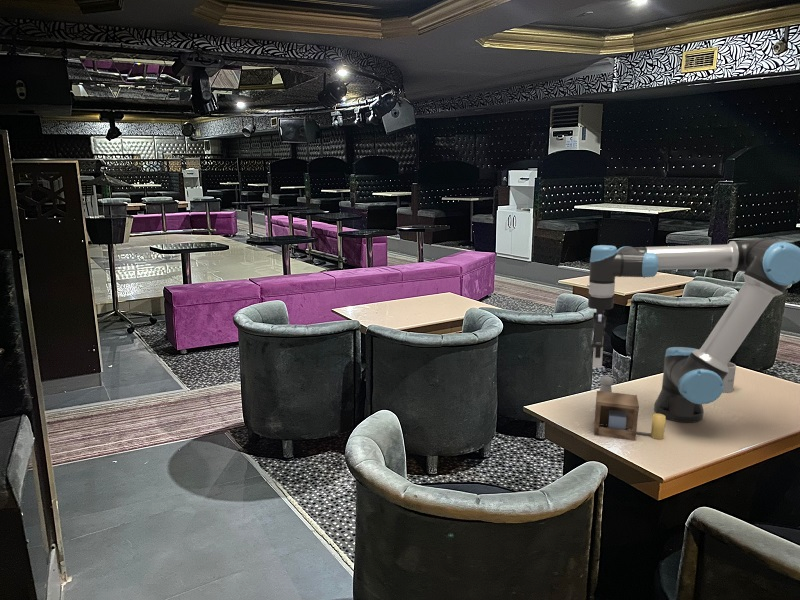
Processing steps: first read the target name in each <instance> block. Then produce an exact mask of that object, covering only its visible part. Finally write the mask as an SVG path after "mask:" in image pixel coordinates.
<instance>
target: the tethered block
mask: <svg viewBox="0 0 800 600" xmlns="http://www.w3.org/2000/svg"><path fill="white" fill-rule="evenodd" d="M666 420H667V419H666V416H665V415H663V414H659V413H655V412H654V413H652V422H651V432H642V431H636V436H642V437H643V436H644V437H649V438H652V439H655V440H663V439H664V437H665V426H666ZM607 428H614V429H622V430H626V429H627V428H626V412H624V411H615V410H609V416H608V426H607Z"/></svg>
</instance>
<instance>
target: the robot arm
mask: <svg viewBox="0 0 800 600" xmlns="http://www.w3.org/2000/svg"><path fill="white" fill-rule="evenodd" d="M590 251H591V252H590V258H589V283H588V284H586V287H587V288H588V294H589V295H588V299H587V307H588V308H590V309H591V310H592V309H593V310H596V312H593V316H592V320H593V328H594V338H593V340H594V341H593V344H591V348H593V351H592V352H593V354H592V368H597V369H599V368H600V369H602V368H603V353H604V336H606V335H607V334H606V331H605V328H606V321H607V315H608V313H607V312H605V311H606V310H608V311H609V310H612V309H613V308H614V302H615V301H614V295H615V288H616V285H615V284H616V280H615V279H616V278H617V277H618V278H624V277H625V278H643V279H645V278H654V277H655V276H657V274H658V271H662V270H663V271H664V270H698V269H699V270H703V269H704V270H706V269H707V270H708V269H709V270H710V269H715V270H716V269H717V270H719V269H727V270H728V271H730V272H740V273H741V272H742V273H743V279H744V282H743V284H742V286H741V287H740V289H739V290H738V292H737V293H736V295H735V296H734V298H733V299H732V301H730V304H729V305H728V306H727V308H726V310H725V311H724V312H723V315H722V316H721V317H720V319H719V320H718V321H717V323H716V324H715V326H714V327H713V329H712V331H710V334H708V337H707V338H706V339H705V340H704V341H705V342H703V343H702V346H701V347H700V348H699V349H698V348H693V347H685V346H672V347H668V348H666V350H665V355H664V363H663V364H664V365H663V372H662V373H663V376H662V383H661V390H660V392H659V395H658V396H657V399H655V401H654V408H653V411H654V414H655V413H659V414H663V415H665V416H666V419H665V420H669V421H675V422H678V423H679V422H681V423H697V422H699V421H700V422H701V421H702V420H703V418H704V408H703V405H706V404H711V403H713V402H716V401H717V400H718V399H719V398H720V397H722V396H721V395H723V393H722V392H723V388H724V386H723V379H724V378H725V376H726V375H727V374H728V372H729V370H728V366H727V364H728V362H730V361H731V359H732V357H733V356H734V355H735V353H736V352H737V351H738V349H739V347H740V346H741V345H742V343H744V340H745V339H747V338H746V337H747V336H748V335H749V333H750V332H751V330H752V329H753V327H754V326H755V325H756V323H757V322H758V320H759V319H760V317H761V315H762V314H763V313H764V311H766V308H767V307H768V306H769V304H770V303H771V301H772V300H773V298H774V297H777V296H780V295H783V294H784V293H785V292H786V290H787V288H789V286H790V285H794V284H796V283H798V282H800V247H799V246H797V245H796V244H793V243H790V242H788V241H780V240H777V239H773V238H756V239H747V240H732V241H730V242H729V243H728V244H708V245H707V244H704V245H702V244H700V245H675V246H674V245H673V246H672V245H671V246H669V245H667V246H666V245H664V246H663V245H662V246H644V247H643V246H640V247H639V246H638V247H633V246H629V245H628V246H626V245H625V246H622V247H619V248H617V247H616V245H606V244H600V245H594V246H593V247H592V248H591V250H590Z"/></svg>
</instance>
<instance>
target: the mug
mask: <svg viewBox="0 0 800 600" xmlns="http://www.w3.org/2000/svg"><path fill="white" fill-rule="evenodd" d="M727 366H728V370H729V372H728V374H727V375H726V376H725V378H724V379H723V386H724V388H723V392H722V394H731V393H733V392H734V384H735V377H736V376H735V375H736V369H737V365H736V364H735V363H733V362H730V361H729V362H728V364H727Z"/></svg>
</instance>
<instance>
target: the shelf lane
mask: <svg viewBox="0 0 800 600" xmlns="http://www.w3.org/2000/svg"><path fill="white" fill-rule="evenodd" d="M595 399H596V401H595V406H596V407H595V410H594V412H595V413H594V421H593V422H594V427H593V428H594V432H593V433H594V436H597V437H598V436H599V437H605V438H613V439H620V440H627V441H628V440H629V441H636V440H637V435H636V432H638V431H637V430H638V429H637V428H638V420H639V409H640V407H639V406H640V405H639V401H638V395H637V394H629V393H620V392H604V391H600V390H597V391H596V397H595ZM609 410H615V411H624V412H626V428H625V430H622V429H614V428H608V416H609ZM604 426H605V427H604ZM606 426H607V427H606ZM628 429H629V430H628Z"/></svg>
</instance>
